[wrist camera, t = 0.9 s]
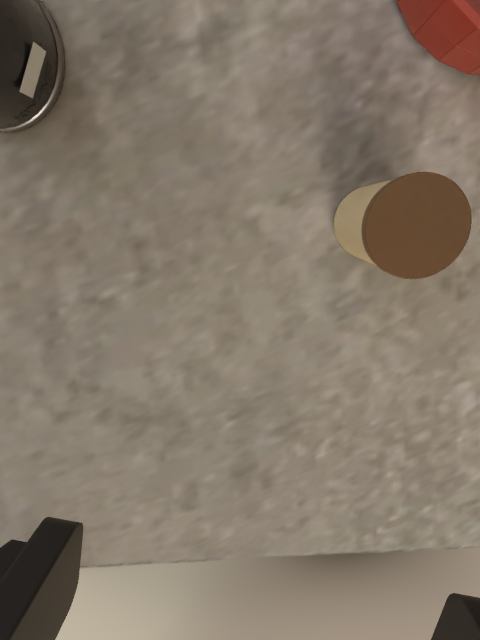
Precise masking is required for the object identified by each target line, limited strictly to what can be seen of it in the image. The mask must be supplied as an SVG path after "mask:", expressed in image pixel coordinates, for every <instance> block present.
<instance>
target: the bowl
mask: <svg viewBox="0 0 480 640" xmlns="http://www.w3.org/2000/svg"><path fill="white" fill-rule="evenodd" d="M397 4H398V6H399V8H400V10H401V12H402V14H403V16H404V18H405V21H406V23H407V25H408V27H409V29H410V31H411V33H412V35H413V37H414V38H415V39H416V40H417V41H418V42H419V43H420V44H421V45H422V46H423V47H424V48H425V49H426V50H427V51H428V52H429V53H430V54H431V55H432V56H433V57H434V58H435V59H436V60H438V61H440V62H442V63H444V64H447V65H449V66H451V67H453V68H456V69H458V70H460V71H462V72H465V73H468V74H476V75H480V0H397Z"/></svg>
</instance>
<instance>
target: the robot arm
mask: <svg viewBox="0 0 480 640" xmlns="http://www.w3.org/2000/svg"><path fill="white" fill-rule="evenodd" d="M64 71H65V60H64V51H63V45H62V41H61V38H60V35H59V32H58V29H57V27H56V25H55V23H54V21H53V19H52V17H51V15H50V14H49V12H48V10H47V9H46V8H45V6H44V5H43V4H42V3H41V2H40V0H0V132H5V133H7V132H17V131H21V130H24V129H27V128H29V127H31V126H33V125H35V124H36V123H38V122H39V121H41V120H42V119H43V118H44V117H45V116H46V115H47V114H48V113H49V112H50V110H51V109H52V107H53V106H54V104H55V103H56V101H57V99H58V96H59V94H60V91H61V88H62V84H63V79H64ZM82 537H83V524H82V523H79V522H73V521H68V520H63V519H57V518H52V517H46V518H45V519H44V520H43V521H42V522H41V524H40V525H39V526H38V528H37V529H36V531H35V532H34V533H33V535H32V536H31V538H30V539H29V540H28V542H23V541H17V540H10V541H9V542H8V543H6V544H5V545H3V546H2V547H1V548H0V640H55V639H56V637H57V635H58V632H59V630H60V628H61V626H62V624H63V622H64V620H65V618H66V616H67V614H68V612H69V609H70V607H71V604H72V601H73V598H74V595H75V592H76V588H77V584H78V579H79V569H80V558H81V548H82ZM431 640H480V598H477V597H472V596H467V595H461V594H455V593H453V594H451V595H449V597H448V598H447V600H446V603H445V606H444V608H443V611H442V613H441V616H440V618H439V621H438V623H437V626H436V628H435V631H434V633H433V637H432V639H431Z"/></svg>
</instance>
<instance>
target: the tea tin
mask: <svg viewBox="0 0 480 640" xmlns="http://www.w3.org/2000/svg"><path fill="white" fill-rule="evenodd" d="M470 229H471V210H470V206H469V203H468V200H467V198H466V196H465V194H464V193H463V191H462V190H461V189H460V188H459V186H458V185H457V184H455V183H454V182H453V181H452V180H450V179H448V178H447V177H445V176H442V175H440V174H436V173H430V172H417V173H412V174H407V175H404V176H401V177H398V178H396V179H394V180H389V181H385V182H380V183H376V184H371V185H367V186H363V187H360V188H358V189H355V190H354V191H352V192H351V193H349V194H348V195H347V196H346V197H345V198H344V199H343V200H342V202H341V203H340V205H339V207H338V209H337V211H336V214H335V218H334V231H335V235H336V238H337V240H338V242H339V244H340V245H341V246H342V248H343V249H344V250H345V251H347V252H348V253H350V254H351V255H353V256H356V257H358V258H360V259H362V260H365V261H367V262H369V263H371V264H373V265H376V266H378V267H379V268H380V269H381V270H383V271H385V272H387V273H389V274H391V275H394V276H396V277H400V278H404V279H420V278H425V277H429V276H432V275H434V274H436V273H438V272H440V271H442V270H443V269H445V268H446V267H448V266H449V265H450V264H451V263H452V262H453V261H454V260H455V259H456V258H457V257H458V256H459V254H460V253H461V251H462V250H463V248H464V246H465V244H466V242H467V240H468V237H469V234H470Z"/></svg>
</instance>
